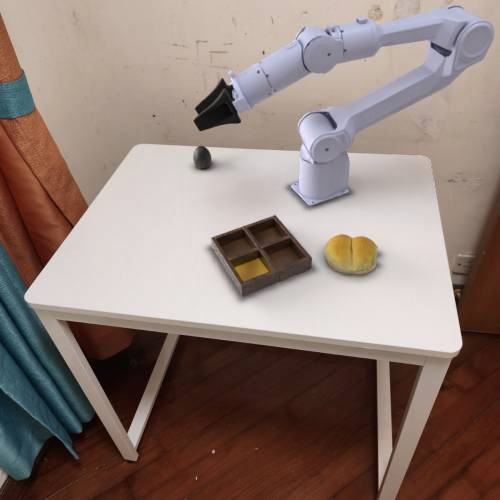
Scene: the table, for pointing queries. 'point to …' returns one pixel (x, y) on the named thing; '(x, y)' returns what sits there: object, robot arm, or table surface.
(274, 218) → the brown compartment tray
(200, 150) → the egg
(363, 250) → the bread roll
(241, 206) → the table surface
